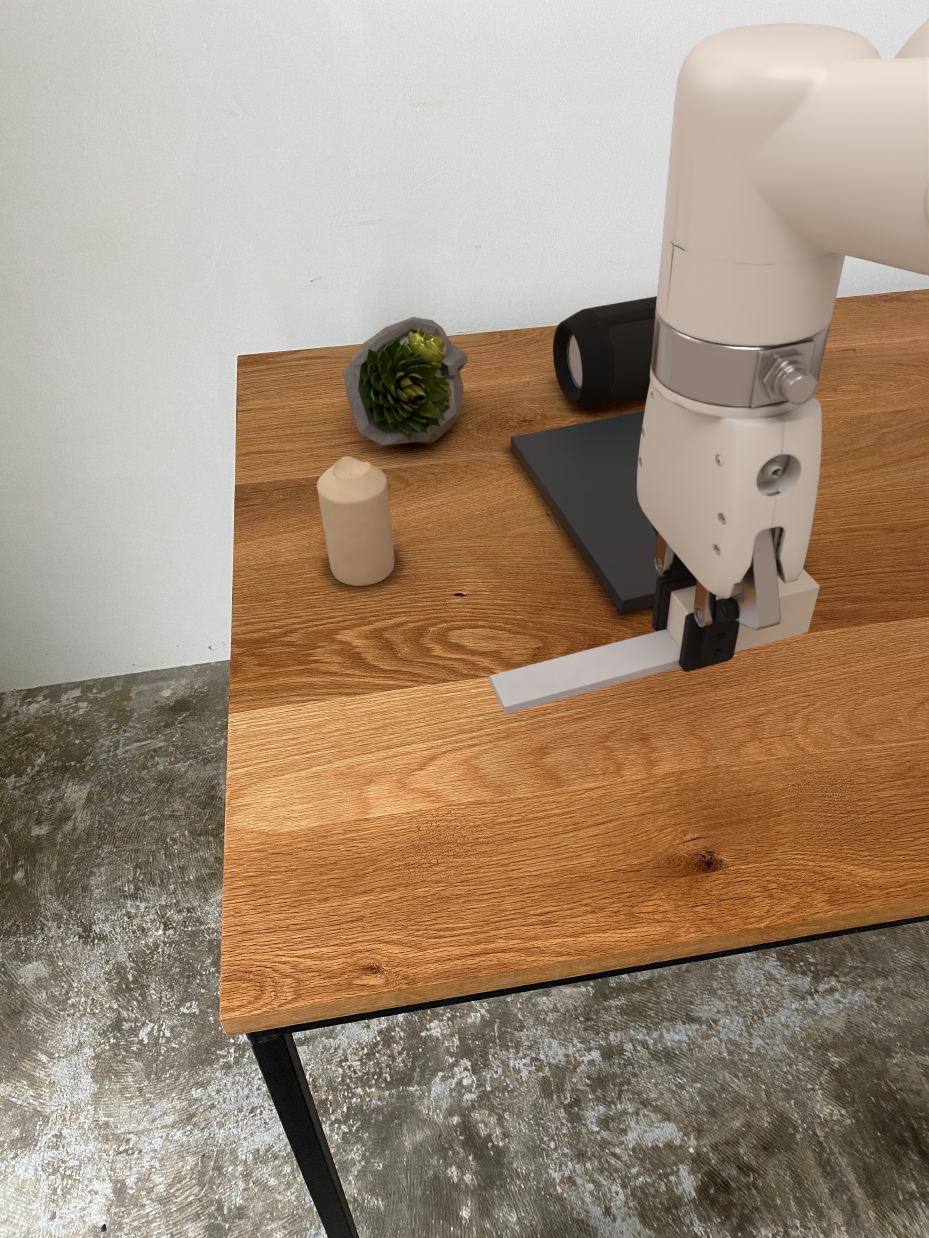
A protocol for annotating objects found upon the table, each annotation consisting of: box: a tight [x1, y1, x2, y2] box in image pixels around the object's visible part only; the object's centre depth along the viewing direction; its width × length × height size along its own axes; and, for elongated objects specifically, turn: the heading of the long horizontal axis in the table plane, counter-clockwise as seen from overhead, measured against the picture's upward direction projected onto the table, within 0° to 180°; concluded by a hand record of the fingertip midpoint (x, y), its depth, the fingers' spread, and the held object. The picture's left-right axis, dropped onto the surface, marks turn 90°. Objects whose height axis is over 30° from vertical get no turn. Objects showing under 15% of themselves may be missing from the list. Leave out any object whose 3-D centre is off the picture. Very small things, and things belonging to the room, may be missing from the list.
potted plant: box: [342, 316, 469, 446], centre depth 91 cm, size 12×13×15 cm
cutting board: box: [510, 410, 663, 615], centre depth 84 cm, size 16×26×2 cm, turn 18°
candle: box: [316, 455, 396, 587], centre depth 76 cm, size 6×6×10 cm
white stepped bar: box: [489, 568, 821, 716], centre depth 53 cm, size 19×3×4 cm, turn 108°
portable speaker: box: [552, 295, 657, 408], centre depth 98 cm, size 26×10×10 cm, turn 108°
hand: (691, 642), depth 54 cm, fingers closed on white stepped bar, 2 cm apart
